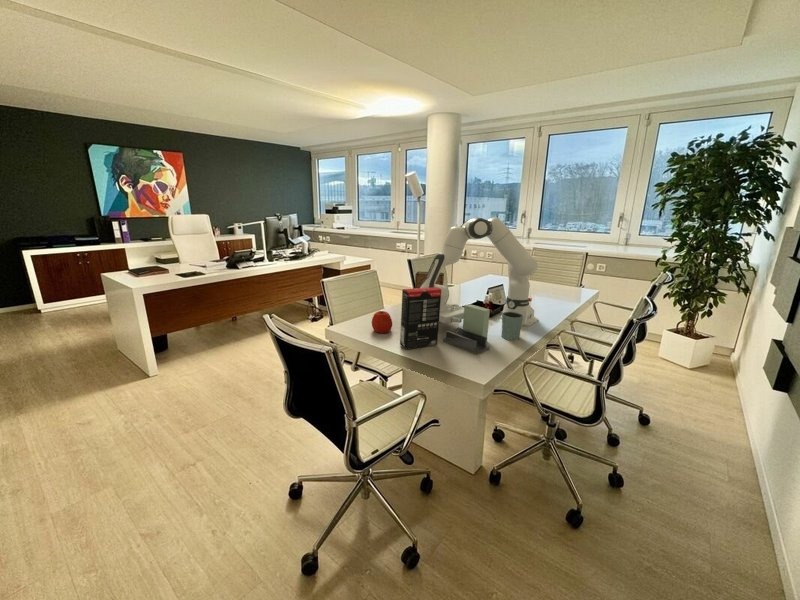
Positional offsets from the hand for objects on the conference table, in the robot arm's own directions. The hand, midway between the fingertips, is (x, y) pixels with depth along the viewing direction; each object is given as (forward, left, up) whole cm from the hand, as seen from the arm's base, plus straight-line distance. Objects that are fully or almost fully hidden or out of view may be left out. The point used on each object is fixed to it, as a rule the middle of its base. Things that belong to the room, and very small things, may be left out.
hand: (466, 319), depth 171 cm
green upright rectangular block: (0, +6, -9) cm, 10 cm away
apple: (+30, -30, -9) cm, 44 cm away
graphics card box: (+28, -4, -9) cm, 30 cm away
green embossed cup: (-16, +15, -9) cm, 24 cm away
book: (-10, -37, -9) cm, 40 cm away
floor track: (+11, +8, -8) cm, 16 cm away
